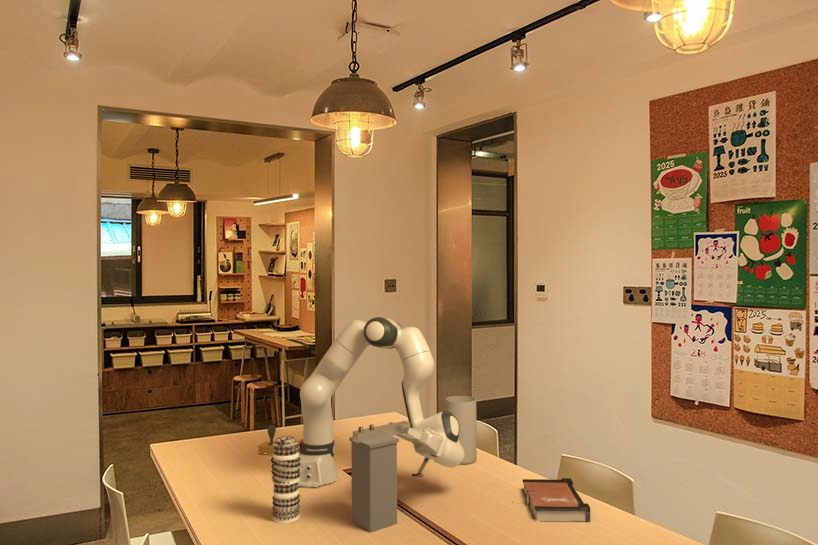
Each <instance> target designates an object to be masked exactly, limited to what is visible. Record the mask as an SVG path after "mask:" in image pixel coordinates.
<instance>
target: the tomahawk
mask: <svg viewBox="0 0 818 545" xmlns="http://www.w3.org/2000/svg"><path fill="white" fill-rule="evenodd" d="M429 461H430V459H428V458H426V457H424V459H423V462H422V464H421V466H420V468H419V469H418V471H417V473H412V477H421V478H424V475H423V473H422V472H423V470H424V469H425V467H426V466H427V464H428V462H429Z"/></svg>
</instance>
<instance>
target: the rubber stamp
mask: <svg viewBox="0 0 818 545" xmlns="http://www.w3.org/2000/svg"><path fill="white" fill-rule="evenodd" d="M276 430H277V429H276V426H275V425H274V424H270V425H269V426H268V427H267V429H266V431H267V435H268V437H269V441H264V442H263V443H260V444H259V445H258V446H257V453H258V452H260V453H267V454H273V453H274V445H273V443H274V442H275V441H274V437H275V435H276V433H277V432H276Z"/></svg>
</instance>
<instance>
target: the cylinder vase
mask: <svg viewBox="0 0 818 545" xmlns="http://www.w3.org/2000/svg"><path fill="white" fill-rule="evenodd" d="M445 411H448V412H450V413H452V414H453V415H454V416H455V417H456V418H457V420H458V421H459V425H460V432H459V442H460V444H461V446H462V447H463V449H464V453H465V455H464V459H463V461H462V462H461V463H460V464H459V465H469V464H473V463H475V462H476V461H477V458H478V457H477V455H478V454H477V452H478V451H477V446H478V445H477V443H478V442H477V440H478V439H477V431H478V430H477V398H476V397H473V396H467V395H451V396H448V397H445Z"/></svg>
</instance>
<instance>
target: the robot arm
mask: <svg viewBox="0 0 818 545" xmlns="http://www.w3.org/2000/svg"><path fill="white" fill-rule="evenodd" d="M369 346H372V347H376V348H378V349H381V350H382V349H383V350H385V349H388V350H392V349H395V350H396V351H397V353H398V356H399V358H400V362H401V364H402V369H403V378H402V381H401V391H402V396H403V397H402V398H403V402H404V405H405V410H406V414H407V415H406V416H407V420H408V421H407V422H410V428H407V429H406V431H405V433H404V434H399V435H395V436H396V437H397V438H399V439H402V440H405V441H408V442H410V443H412V444H413V448H414V452H416V453H417V454H419V455H421V456H422V457H424V458H428V459H429V460H432V461H433V462H435V463H437V464H438V465H441V466H443V467H446V468H452V469H453V468H455V467H458V466H460V465H461V464H460V463H461V462H462V461H463V459H464V455H465V453H464V449H463V447H462V446H461V444H460V442H459V432H460V425H459V421H458V420H457V418H456V417H455V416H454V415H453V414H452V413H450V412H448V411H446V410H443V411H440V412H437V413H435V414H433V415H432V416H429V417H426V418H424V414H423V410H422V404H421V400H420V393H421V390H422V389H423V387H424V385H425V384H426V383H427V382H428V381H429V380H430V379H431V377H432V375H433V373H434V370H435V360H434V357H433V355H432V354H433V353H432V351H431V349H430V347H429V345H428V342H427V341H426V339H425V337H424V335H423V333H422V332H421V330H420V329H419V328H418V327H416V326H407V327H404V328H403V327H402V325H400V323H398V322H397V321H394V320H393V319H391V318H388V317H387V318H386V317H382V316H377V317H373V318H371V319H369V320H368V321H367V322H366V321H364V320H360V319H354V320H352V321H351V322H349V324H347V325H346V327H344V329H342V331H341V332H340V333H339V335H338V336H337V337H336V339H335V340H334V341H333V343H331V345H330V347H328V350H327V351H326V353H325V354H324V355H323V357H322V358H321V359H320V361H319V363H318V365H317V366H316V367H315V368H314V370H313V371H312V373H311V374H310V375H309V377H308V378H307V379H305V381H304V382H303V383H302V385H301V386H300V391H299V398H300V405H301V414H302V422H303V424H302V429H303V430H302V432H303V436H302V437H303V439H299V440H298V442H299V443H298V457H299V458H301V460H300V461H298V462H300V463H301V465H300V466H298V468H299V469H300V472H298V473H299V474H300V476H299V481H298V486H308V487H307V488H309V487H317V488H319V487H318V486H320V485H322V486H325V485H324V484H326V485H329V483H330V484H332V483H335V482H336V481H338V478H339V476H338V474H337V473H338V472H337V468H336V464H335V454H336V443H335V439H334V417H333V411H332V409H333V408H332V396H333V395H334V393H335V392H336V391H337V389H338V388H339V386H340V385H341V384H342V382H343V381H344V380H345V378H346V377H347V375H348V374H349V372H350V371H351V370H352V368H353V367H354V365H355V364H356V363H357V362H358V360H359V359H360V357H361V356H362V354H363V353H364V352H365V350H366V349H367V348H368V347H369ZM391 423H396V422H394V421H393V422H391V421H388V423H387V424H391ZM334 481H335V482H334ZM320 487H321V486H320Z"/></svg>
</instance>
